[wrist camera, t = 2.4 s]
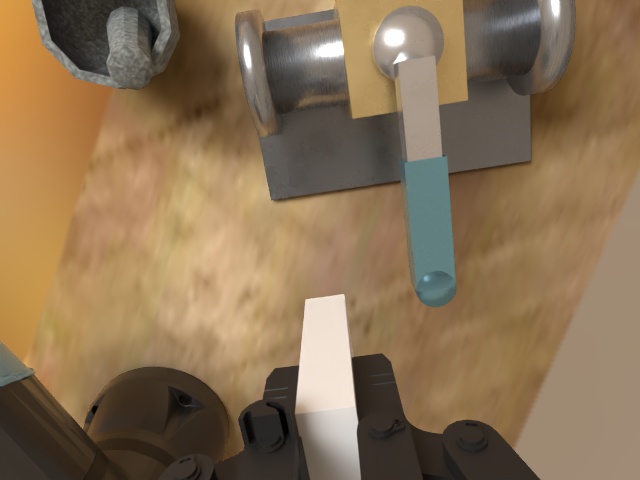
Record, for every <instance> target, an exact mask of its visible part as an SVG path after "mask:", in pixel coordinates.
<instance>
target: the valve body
mask: <svg viewBox="0 0 640 480" xmlns="http://www.w3.org/2000/svg"><path fill="white" fill-rule="evenodd" d="M404 6H418V7H422V8H424V9H426V10H428V11H429V12H431V13H432V14H433V15H434V16H435V17H436V18H437V20H438V21H439V23H440V25H441V27H442V30H443V34H444V49H443V53H442V56H441V59H440V60H439V62H438V64H437V65H436V75H437V89H438V102H439V116H440V130H441V144H442V154H443V155H445V156H447V163H448V173H453V172H459V171H466V170H472V169H479V168H486V167H492V166H499V165H505V164H512V163H518V162H525V161H531V126H530V95H531V94H537V93H543V92H547V91H549V90H551V89H552V88H554V87H555V86H556V85H557V83H558V82H559V81H560V79H561V78H562V76H563V74H564V72H565V70H566V67H567V65H568V62H569V59H570V56H571V52H572V48H573V42H574V36H575V24H576V7H575V0H335V6H334V9H333V10H328V11H322V12H316V13H310V14H305V15H299V16H293V17H287V18H282V19H276V20H270V21H264V19H263V17H262V14H261V12H260V10H259V9H258V10H252V11H246V12H241V13H237V14H236V19H235V30H236V42H237V50H238V57H239V63H240V69H241V74H242V79H243V84H244V88H245V93H246V97H247V101H248V104H249V108H250V112H251V115H252V118H253V121H254V124H255V126H256V129H257V131H258V134H259V139H260V145H261V150H262V155H263V160H264V165H265V171H266V176H267V181H268V186H269V191H270V197H271V200H275V199H282V198H289V197H295V196H302V195H308V194H315V193H321V192H328V191H335V190H341V189H348V188H354V187H361V186H367V185H374V184H381V183H387V182H394V181H400V170H399V160H398V158H402V149H401V139H400V129H399V119H398V109H397V99H396V89H395V81H392V80H390V79H388V78H386V77H385V76H384V75H382V74H381V73H380V71H379V70H378V69H377V67H376V65H375V63H374V60H373V57H372V40H373V37H374V34H375V32H376V30H377V28H378V26H379V25H380V23H381V22H382V21H383V20H384V18H385V17H386V16H387V15H388V14H390V13H391V12H392V11H394V10H396V9H398V8H401V7H404Z"/></svg>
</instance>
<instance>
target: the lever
mask: <svg viewBox="0 0 640 480" xmlns="http://www.w3.org/2000/svg"><path fill="white" fill-rule="evenodd" d="M443 49H444V34H443V30H442V27H441V25H440V23H439V21H438V20H437V18H436V17H435V16H434V15H433V14H432V13H431V12H429V11H428V10H426V9H424V8H422V7H418V6H404V7H401V8H398V9H396V10H394V11H392V12H391V13H390V14H388V15H387V16H386V17H385V18H384V20H383V21H382V22H381V23H380V25H379V26H378V28H377V30H376V32H375V34H374V37H373V40H372V57H373V60H374V63H375V65H376V67H377V69H378V70H379V71H380V73H381V74H382V75H384V76H385V77H386V78H388V79H390V80H392V81H395V89H396V99H397V109H398V119H399V129H400V139H401V149H402V158H398V160H399V170H400V180H401V189H402V199H403V209H404V219H405V229H406V238H407V248H408V258H409V268H410V278H411V283H412V285H413V287H414V289H415V291H416V293H417V295H418V297H419V299H420V301H421V302H422V303H424V304H425V305H427V306H430V307H440V306H443V305H445V304H447V303H448V302H450V301H451V300H452V298H453V297H454V295H455V292H456V278H455V264H454V250H453V235H452V221H451V206H450V192H449V178H448V163H447V156H445V155H443V154H442V144H441V130H440V116H439V102H438V89H437V75H436V65H437V64H438V62H439V60H440V59H441V56H442V53H443Z"/></svg>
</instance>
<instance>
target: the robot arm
mask: <svg viewBox="0 0 640 480" xmlns="http://www.w3.org/2000/svg"><path fill="white" fill-rule="evenodd" d="M34 374H35V371H34V370H33V369H32V368H27V367H26V366H25V365H24V364H23V363H22V362H21V361H20V360H19V359H18V358H17V357H16V356H15V355H14V354H13V353H12V352H11V351H10V350H9V349H8V348H7V347H6V346H5V345H4V344H3V343H2V342H0V480H540V479H539V478H538V477H537V476H536V474H535V473H534V472H533V471H532V470H531V469H530V468H529V467H528V465H527V464H526V463H525V462H524V461H523V460H522V459H521V458H520V457H519V455H518V454H517V453H516V452H515V451H514V450H513V449H512V448H511V447H510V445H509V444H508V443H507V442H506V441H505V440H504V439H503V438H502V437H501V435H500V434H499V433H498V432H497V431H496V430H494V429H493V428H492V427H491V426H489V425H487V424H485V423H482V422H480V421H474V420H462V421H456V422H454V423H452V424H450V425H448V427H447V428H446V429H445V430H444V431H443V434H437V433H431V432H426V431H423V430H420V429H418V428H416V427H414V426H413V425H411V424H410V423H409V422H408V420H407V419H406V417H405V415H404V412H403V408H402V404H401V400H400V396H399V393H398V389H397V385H396V381H395V377H394V373H393V369H392V365H391V362H390V361H389V360H388V359H387V358H386V357H385V356H384V355H383V354H382V353H381V354H374V355H366V356H358V357H354V356H353V349H352V343H351V336H350V330H349V323H348V317H347V310H346V303H345V297H344V294H341V295H334V296H327V297H320V298H312V299H306V302H305V312H304V323H303V333H302V344H301V355H300V365H298V366H290V367H283V368H275V369H274V370H273V372H272V373H271V374H270V375H269V377H268V378H267V380H266V385H265V392H264V395H263V400H259V401H256V402H255V403H253V404H251V405H249V406H248V407H247V408H245V409H244V410H243V411H242V412H241V414H240V416H239V418H238V421H239V425H240V429H241V433H242V437H243V441H244V445H245V447H244V450H243V451H242V452H240V453H239V454H237V455H236V456H233V457H231V458H229V459H226V460H224V461H221V460H222V458H223V455H224V451H225V448H226V444H227V441H228V436H229V422H228V417H227V414H226V411H225V409H224V407H223V405H222V403H221V401H220V400H219V398H218V397H217V396H216V395H215V393H214V392H213V391H212V390H211V389H210V388H209V387H208V386H206V385H205V384H204V383H202V382H201V381H200V380H198V379H196V378H195V377H193V376H191V375H189V374H186V373H184V372H181V371H178V370H174V369H170V368H163V367H144V368H138V369H134V370H131V371H128V372H125V373H123V374H121V375H119V376H118V377H116V378H115V379H113V380H112V381H111V382H109V383H108V384H107V385H106V386H105V388H104V389H103V390H102V391H101V393H100V394H99V395H98V397H97V398H96V399H95V401H94V402H93V404H92V405H91V407H90V409H89V411H88V413H87V416H86V419H85V424H84V427H83V429H82V428H81V427H80V426H79V425H78V423H77V422H76V421H75V420H74V419H73V418H72V417H71V416H70V415H69V413H68V412H67V411H66V410H65V409H64V408H63V407H62V406H61V404H60V403H59V402H58V401H57V400H56V399H55V398H54V397H53V396H52V394H51V393H50V392H49V391H48V390H47V389H46V388H45V387H44V386H43V384H42V383H41V382H40V381H39V380H38V379H37V378H36V376H35V375H34Z"/></svg>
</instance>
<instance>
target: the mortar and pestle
mask: <svg viewBox="0 0 640 480" xmlns="http://www.w3.org/2000/svg"><path fill="white" fill-rule="evenodd" d="M32 4H33V8H34V12H35V16H36V20H37V24H38V28H39V32H40V36H41V40H42V43H43V45H44V46H45V47H46V48H47V49H48V50H49V51H50V53H51V54H53V56H54V57H55V58H56V59H57V60H58V61H59V62H60V63H61V64H62V65H63V66H64V67H65V68H66V69H67V70H68V71H69V72H70V73H71V74H72V75H73V76H74V77H75V78H76V79H80V80H84V81H89V82H93V83H97V84H101V85H106V86H110V87H114V88H119V89H127V88H128V89H135V90H138V89H140V88H142V87H144V86H146V85H148V84H149V83H150V81H151V78H152V77H153V76H155V75H157V74H160V73H162V72H164V71H165V69H166V67H167V65H168V63H169V60H170V58H171V56H172V54H173V52H174V50H175V47H176V45H177V43H178V41H179V39H180V31H179V25H178V19H177V13H176V7H175V1H174V0H32Z"/></svg>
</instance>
